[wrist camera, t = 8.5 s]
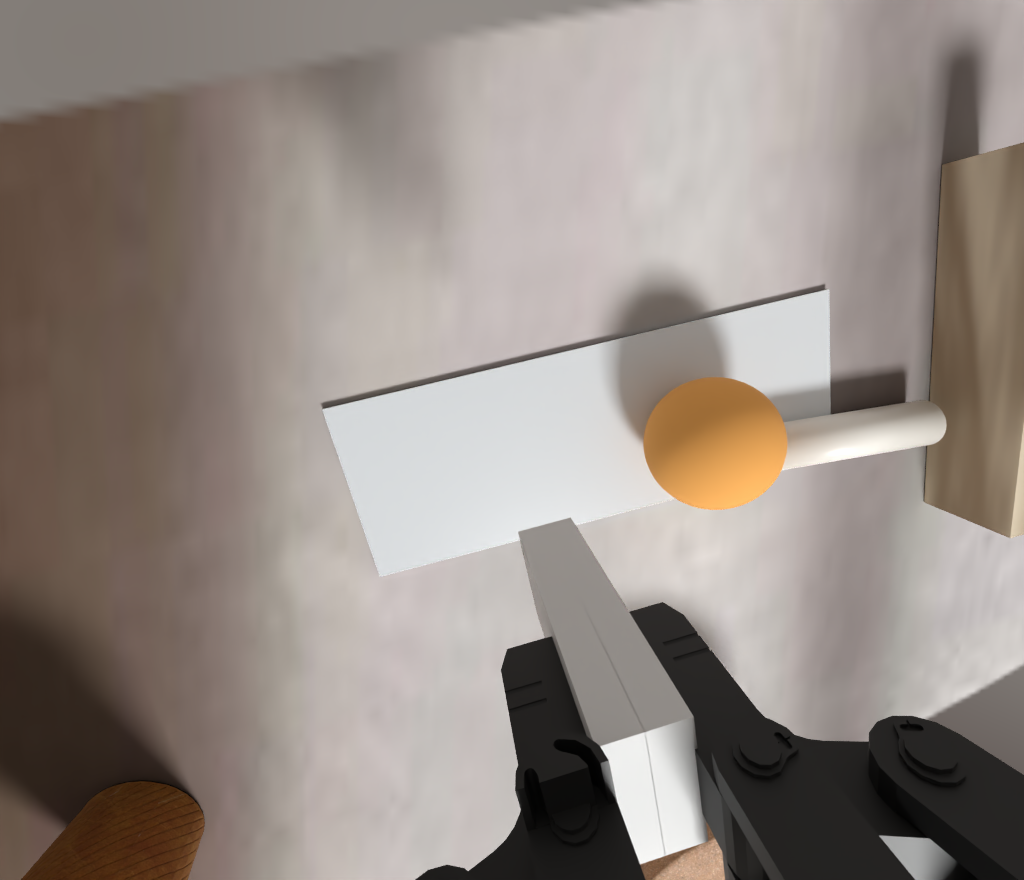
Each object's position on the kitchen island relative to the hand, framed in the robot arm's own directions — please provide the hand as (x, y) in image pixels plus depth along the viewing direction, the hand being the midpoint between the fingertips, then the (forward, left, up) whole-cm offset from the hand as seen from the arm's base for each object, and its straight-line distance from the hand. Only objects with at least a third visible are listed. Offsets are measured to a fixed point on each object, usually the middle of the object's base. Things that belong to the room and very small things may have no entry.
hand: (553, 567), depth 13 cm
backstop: (+19, +15, -11) cm, 27 cm away
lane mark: (+4, +3, -11) cm, 12 cm away
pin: (+12, +6, -10) cm, 17 cm away
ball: (+8, +5, -8) cm, 12 cm away
